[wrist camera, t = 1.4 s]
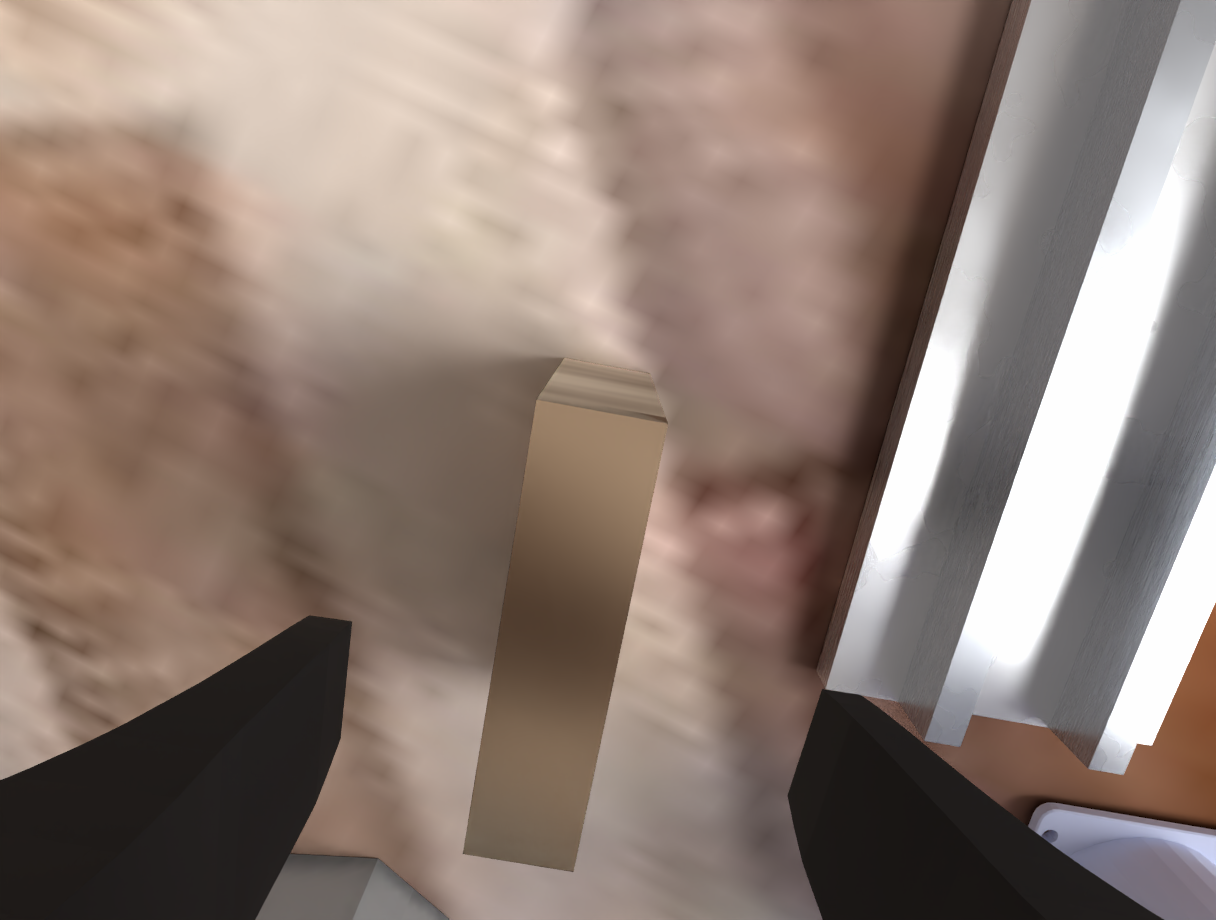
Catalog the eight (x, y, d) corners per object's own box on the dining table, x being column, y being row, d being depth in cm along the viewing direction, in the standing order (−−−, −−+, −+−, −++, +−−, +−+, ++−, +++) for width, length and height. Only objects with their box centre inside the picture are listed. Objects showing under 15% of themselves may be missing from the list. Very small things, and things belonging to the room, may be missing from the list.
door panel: (586, 688, 22) (573, 871, 15) (510, 675, 22) (462, 854, 15) (650, 373, 19) (668, 423, 13) (564, 357, 19) (536, 399, 12)
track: (1127, 724, 22) (1200, 788, 19) (816, 670, 21) (845, 727, 19) (1432, 13, 17) (1590, -38, 14) (1033, -73, 16) (1115, -142, 14)
